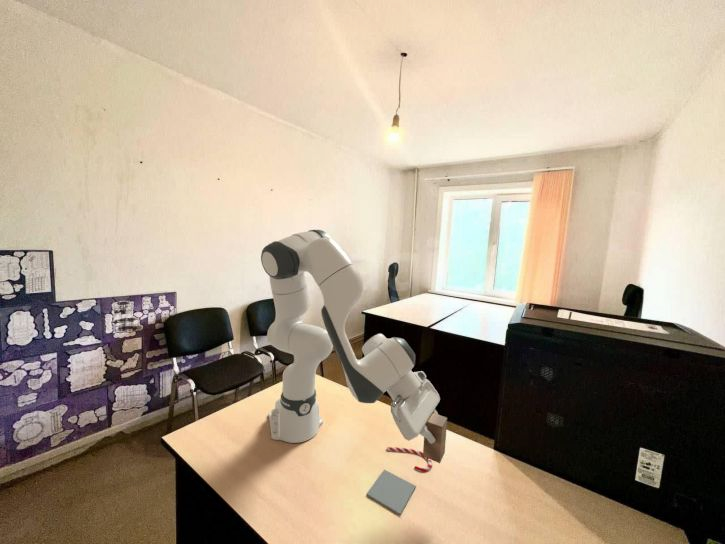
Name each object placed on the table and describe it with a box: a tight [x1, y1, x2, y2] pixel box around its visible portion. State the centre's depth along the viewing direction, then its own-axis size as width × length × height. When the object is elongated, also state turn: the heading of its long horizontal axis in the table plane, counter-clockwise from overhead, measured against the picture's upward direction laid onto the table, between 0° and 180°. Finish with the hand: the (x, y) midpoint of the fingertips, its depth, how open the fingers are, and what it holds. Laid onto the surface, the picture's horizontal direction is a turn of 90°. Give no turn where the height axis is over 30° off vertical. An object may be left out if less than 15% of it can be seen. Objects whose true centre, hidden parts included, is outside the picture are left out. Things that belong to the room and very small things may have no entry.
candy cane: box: [386, 446, 433, 473], centre depth 91 cm, size 8×1×15 cm
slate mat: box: [366, 469, 417, 516], centre depth 79 cm, size 10×10×1 cm
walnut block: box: [422, 413, 448, 464], centre depth 76 cm, size 4×4×10 cm
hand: (437, 434), depth 75 cm, fingers closed on walnut block, 4 cm apart
